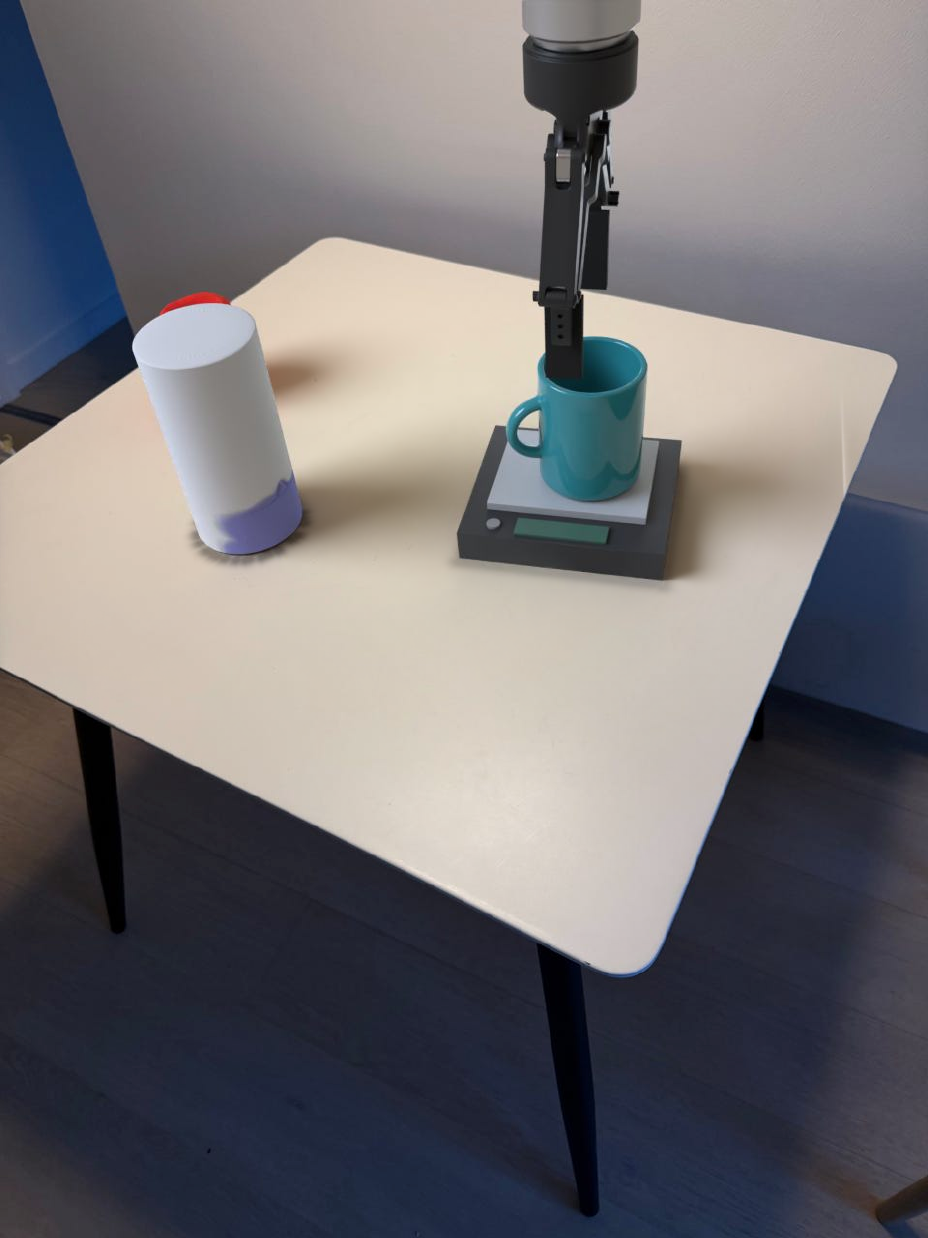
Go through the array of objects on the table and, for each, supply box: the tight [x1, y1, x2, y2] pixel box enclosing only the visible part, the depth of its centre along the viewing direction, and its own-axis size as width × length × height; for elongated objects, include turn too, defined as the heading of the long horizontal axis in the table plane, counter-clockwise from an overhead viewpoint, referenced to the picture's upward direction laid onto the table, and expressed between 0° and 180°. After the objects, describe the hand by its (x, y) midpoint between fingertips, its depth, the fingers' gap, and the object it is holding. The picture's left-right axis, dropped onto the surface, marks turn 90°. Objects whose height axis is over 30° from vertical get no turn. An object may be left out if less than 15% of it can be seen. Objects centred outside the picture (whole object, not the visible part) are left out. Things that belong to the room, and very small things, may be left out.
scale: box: [456, 424, 683, 581], centre depth 91 cm, size 18×16×4 cm
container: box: [131, 303, 303, 555], centre depth 87 cm, size 10×10×20 cm
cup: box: [505, 335, 649, 501], centre depth 85 cm, size 9×12×11 cm
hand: (578, 329), depth 79 cm, fingers open, 13 cm apart
